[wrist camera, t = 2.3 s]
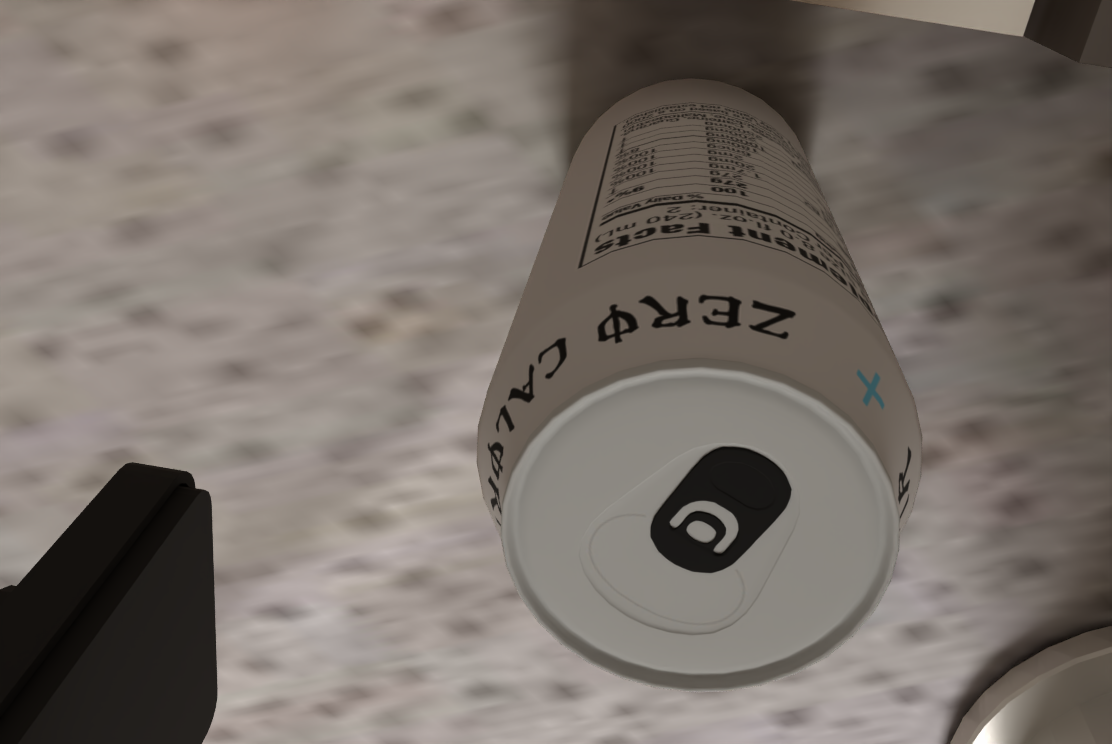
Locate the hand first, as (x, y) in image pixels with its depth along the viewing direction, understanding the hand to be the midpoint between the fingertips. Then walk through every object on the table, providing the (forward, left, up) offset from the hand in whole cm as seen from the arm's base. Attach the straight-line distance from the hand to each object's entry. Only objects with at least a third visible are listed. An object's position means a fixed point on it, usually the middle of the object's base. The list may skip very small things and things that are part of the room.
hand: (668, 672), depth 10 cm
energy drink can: (0, 0, -18) cm, 18 cm away
